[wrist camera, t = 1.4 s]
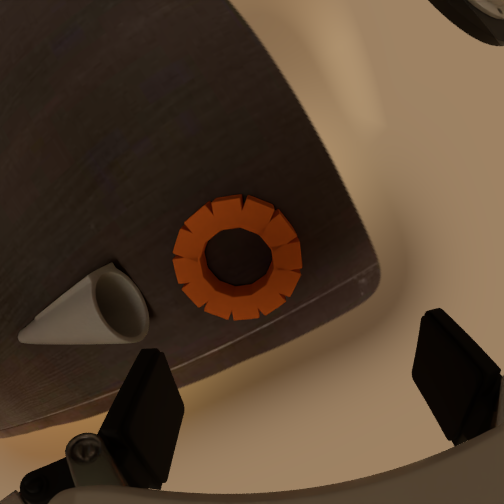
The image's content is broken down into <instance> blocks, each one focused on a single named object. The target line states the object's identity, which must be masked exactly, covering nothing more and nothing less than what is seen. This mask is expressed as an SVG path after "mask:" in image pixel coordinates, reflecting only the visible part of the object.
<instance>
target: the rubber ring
mask: <svg viewBox="0 0 504 504" xmlns="http://www.w3.org/2000/svg"><path fill="white" fill-rule="evenodd" d="M233 228H243V229H245V230H248V231H250V232H253V233H256V234H258V235H260V237H261V238H262V239H263V240H264V241H265V243H266V244H267V245H268V246H269V248H270V249H271V252H272V261H271V264H270V266H269V268H268V270H267V273H266V274H265V275H264V276H263V277H261V278H260V279H258V280H257V281H256V282H254V283H253V284H249V285H241V286H233V285H230V284H228V283H225V282H222V281H220V280H218V278H217V277H216V276H215V275H214V274H213V273H212V272H211V271H210V269H209V268H208V266H207V261H206V257H205V252H204V251H205V248H206V245H207V242H208V240H209V239H211V238H212V237H213V236H214V235H216V234H217V233H218V232H219V231H221V230H226V229H233ZM173 253H174V254H176V256H175V257H174V258H173V264H174V268H175V272H176V276H177V280H178V283H179V284H182V283H185V284H184V286H183V287H182V290H183V291H184V293H185V294H186V295H187V296H188V297H189V298H190V299H191V300H192V301H193V302H194V303H195V304H196V305H197V306H198V307H201V306H202V305H203V304H205V303H206V302H207V303H206V306H205V309H204V311H205V312H208V313H211V314H213V315H216V316H219V317H222V318H224V319H229V316H230V314H231V312H232V314H233V319H234V320H244V319H253V318H259V310H260V311H261V312H262V313H263V314H264V315H265V316H266V315H267V314H269V313H270V312H272V311H273V310H275V309H276V308H278V307H279V306H280V305H282V304H283V303H285V302H286V299H285V296H288V297H290V296H291V294H292V292H293V290H294V288H295V286H296V284H297V282H298V280H299V278H300V276H301V272H300V268H302V258H301V248H300V242H299V239H298V237H297V234H296V232H295V230H294V228H293V227H292V225H291V224H290V223H289V221H288V220H287V219H286V217H285V216H284V215H283V214H282V212H281V211H280V210H279V209H277V210H275V211H274V206H273V204H271V203H268V202H266V201H263V200H261V199H258V198H256V197H253V196H250V195H248V196H247V198H246V201H245V203H244V204H243V198H242V194H238V195H231V196H225V197H219V198H215V199H214V200H213V201H212V202H210V201H208V202H207V203H206V204H205V205H204V206H202V207H201V208H200V209H199V210H198V211H196V212H195V213H194V214H193V215H192V216H191V217H189V218H188V219H187V220H186V221H185V222H184V225H183V226H182V227H181V228H180V231H179V234H178V237H177V240H176V243H175V246H174V250H173Z"/></svg>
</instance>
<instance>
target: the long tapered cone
mask: <svg viewBox="0 0 504 504" xmlns="http://www.w3.org/2000/svg"><path fill="white" fill-rule="evenodd" d="M148 329H149V314H148V309H147V306H146V303H145V300H144V298H143V296H142V294H141V292H140V291H139V289H138V287H137V286H136V285H135V283H134V282H133V281H132V280H131V279H130V278H129V277H128V276H127V275H126V274H124V273H123V272H122V271H120V270H118V269H117V268H116V267H115V266H114V264H113V263H109V264H107V265H105V266H103V267H101V268H99V269H98V270H96V271H94V272H92V273H90V274H89V275H87V276H86V277H85V278H83V279H82V280H81V281H79V282H78V283H77V284H76V285H74V286H73V287H72V288H70V289H69V290H68V291H67V292H65V293H64V294H63V295H62V296H60V297H59V298H58V299H57V300H55V301H54V302H53V303H52V304H50V305H49V306H48V307H47V308H46V309H44V310H43V311H42V312H41V313H40V314H38V315H37V316H36V317H35V319H34V320H33V321H32V322H31V323H30V324H29V325H27V326H26V327H25V328H23V329H22V330H21V331H20V332H19V334H18V340H19V341H20V342H22V343H29V344H120V343H136V342H139V341H141V340H142V339H143V338H144V337H145V336H146V334H147V332H148Z"/></svg>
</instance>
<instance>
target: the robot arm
mask: <svg viewBox="0 0 504 504" xmlns="http://www.w3.org/2000/svg"><path fill="white" fill-rule="evenodd" d="M467 1H468V2H470V3H471V4H472V5H473V6H475V7H476V8H478V9H479V10H480V11H482V12H483V13H485V14H487V15H489V16H491V17H493V18H496V19H502V20H503V19H504V0H467ZM500 371H501V369H500V368H499V367H498V366H497V365H496V363H495V362H494V361H493V360H492V359H491V358H490V357H489V356H488V355H487V354H486V353H485V352H484V351H483V350H482V348H481V347H480V346H479V345H478V344H477V343H476V342H475V341H474V340H473V339H472V338H471V337H470V336H469V335H468V334H467V333H466V332H465V331H464V330H463V329H462V328H461V327H460V326H459V325H458V324H457V323H456V322H455V321H454V320H453V319H452V318H451V317H450V316H449V315H448V314H447V313H445V312H444V310H442V309H441V308H437V309H433V310H429V311H426V313H425V315H424V316H422V318H421V323H420V330H419V336H418V342H417V348H416V353H415V359H414V364H413V369H412V378H413V380H414V382H415V384H416V385H417V387H418V389H419V390H420V392H421V394H422V396H423V397H424V399H425V401H426V402H427V404H428V406H429V408H430V409H431V411H432V413H433V415H434V416H435V418H436V420H437V422H438V423H439V425H440V427H441V429H442V431H443V432H444V434H445V436H446V438H447V439H448V440H449V441H451V440H452V442H453V444H454V446H455V447H453V448H450V449H448V450H446V451H443V452H441V453H439V454H436V455H433V456H431V457H428V458H425V459H423V460H420V461H418V462H414V463H412V464H409V465H406V466H403V467H399V468H396V469H393V470H390V471H387V472H383V473H379V474H375V475H372V476H368V477H364V478H360V479H356V480H351V481H346V482H342V483H337V484H331V485H326V486H320V487H314V488H307V489H299V490H290V491H281V492H269V493H253V494H252V493H251V494H202V493H184V492H171V491H160V490H161V486H162V483H165V482H166V481H167V479H168V474H169V471H170V466H171V462H172V458H173V454H174V450H175V446H176V442H177V438H178V434H179V430H180V426H181V422H182V418H183V415H184V404H183V401H182V399H181V396H180V394H179V391H178V389H177V386H176V384H175V381H174V378H173V376H172V373H171V371H170V368H169V365H168V363H167V360H166V357H165V355H164V353H163V352H160V351H159V350H158V349H157V348H152V349H142V350H141V351H140V353H139V355H138V356H137V358H136V360H135V362H134V364H133V366H132V368H131V369H130V371H129V373H128V375H127V377H126V379H125V381H124V383H123V385H122V386H121V388H120V390H119V392H118V394H117V396H116V398H115V400H114V402H113V404H112V406H111V408H110V410H109V412H108V414H107V416H106V418H105V420H104V422H103V424H102V426H101V428H100V430H99V432H98V434H93V433H83V434H79V435H77V436H75V437H74V438H73V439H71V440H70V441H69V443H68V445H67V446H66V450H65V454H66V457H65V458H63V459H60V460H59V461H56V462H54V463H51V464H49V465H47V466H44V467H42V468H39V469H37V470H34V471H32V472H30V473H28V474H26V475H25V477H24V478H23V479H22V481H21V484H20V492H17V491H16V490H15V491H14V492H12V493H11V494H10V495H8V496H7V497H5V498H4V499H3V500H1V501H0V504H504V376H503V377H502V376H501V375H500ZM461 443H462V444H461ZM459 444H460V445H459ZM148 488H150V489H148ZM152 489H157V490H152Z"/></svg>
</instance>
